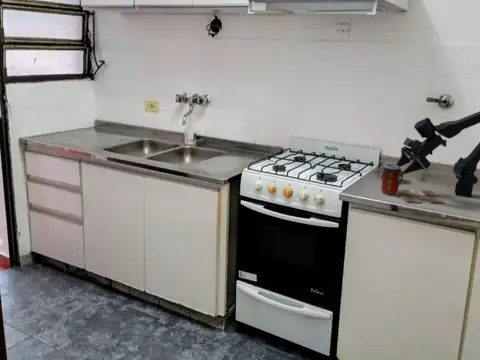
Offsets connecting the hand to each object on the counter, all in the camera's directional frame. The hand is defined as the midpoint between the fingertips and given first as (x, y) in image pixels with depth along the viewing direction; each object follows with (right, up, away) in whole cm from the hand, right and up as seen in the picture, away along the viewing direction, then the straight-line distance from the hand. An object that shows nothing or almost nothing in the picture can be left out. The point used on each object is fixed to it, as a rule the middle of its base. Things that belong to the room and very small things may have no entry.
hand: (399, 170), depth 214 cm
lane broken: (+8, -13, -6) cm, 16 cm away
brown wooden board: (+9, -10, +4) cm, 14 cm away
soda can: (-4, -10, +3) cm, 11 cm away
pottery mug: (+3, -5, +23) cm, 24 cm away
